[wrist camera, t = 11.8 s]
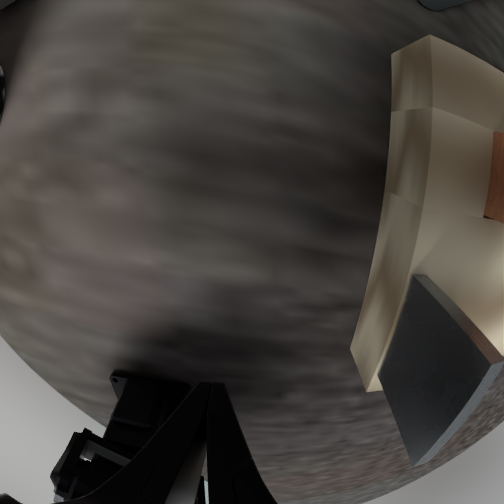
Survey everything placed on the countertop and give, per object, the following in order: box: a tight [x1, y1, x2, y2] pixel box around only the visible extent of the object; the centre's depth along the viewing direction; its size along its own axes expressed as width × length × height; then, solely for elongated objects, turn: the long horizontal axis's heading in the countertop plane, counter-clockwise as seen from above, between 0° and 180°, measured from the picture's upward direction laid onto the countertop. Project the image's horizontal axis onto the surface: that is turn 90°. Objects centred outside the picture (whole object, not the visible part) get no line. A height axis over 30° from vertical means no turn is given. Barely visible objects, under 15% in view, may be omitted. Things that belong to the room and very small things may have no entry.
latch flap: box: [377, 275, 504, 467], centre depth 9 cm, size 6×6×1 cm
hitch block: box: [350, 34, 504, 392], centre depth 12 cm, size 18×12×4 cm, turn 178°
